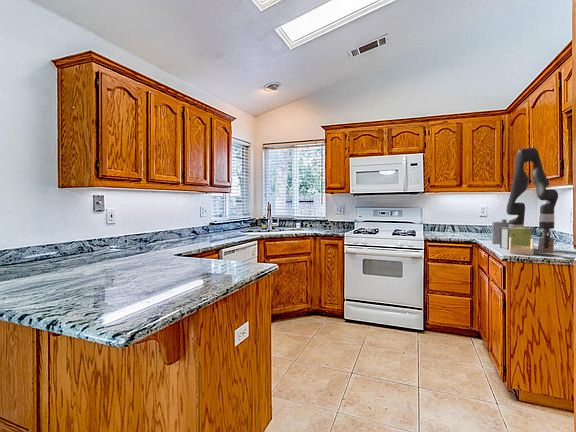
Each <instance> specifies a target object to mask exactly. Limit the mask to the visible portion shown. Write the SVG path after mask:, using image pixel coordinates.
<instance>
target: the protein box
mask: <svg viewBox="0 0 576 432" xmlns="http://www.w3.org/2000/svg"><path fill="white" fill-rule="evenodd" d="M509 237H510V238H511V245H514V246H530V243H531V238H532V228H529V227H527V228H526V227H524V228H500V244H499V248H500V249H503V250H506V251H507V250H508V251H509Z"/></svg>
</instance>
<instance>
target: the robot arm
mask: <svg viewBox="0 0 576 432" xmlns="http://www.w3.org/2000/svg"><path fill="white" fill-rule="evenodd" d="M525 163H532V164H533V169H532V173H531V174H532V175H531V178H532V179H531V180H532V181H533V184H534V185H535V191H536V192H535V193H536V197H537V198H538V199H539V200H540V201H545V203H544V204H541V205H540V207H539V220H538V222H539V223H538V228H539V229H542V231H541V235H542V236H541V238H544V248H546V249H548V248H549V242H550V238H551V234H552V233H551V231H550V230H554V229H555V207H556V204H557V202H558V198H559V193H558V191H557V190H556V189H550V188H547V187H549V185H550V181H549V180H548V177H547V176H546V173H545V172H544V168H543V165H542V160H541V157H540V153H539V151H538V149H537V148H536V147H528V148H526V147H525V148H521V149H518V150H517V153H516V155H515V163H514V164H515V165H514V171H513V172H514V173H513V174H514V175H513V178H512V181H511V188H510V192H509V193H510V195H509V198H508V202H507V205H506V213H507V215H509V216H516V217H515V218H513V219H509V220H508V223H509V228H525V214H526V205H525V203H524V202H516V201H517V199H518V198H519V197H520V196H521V195H522V194H523V193H524V192H526V191H527V189H528V186H529V181H530V179H529V176H528V174H527V173H526V171H525V167H524V166H525ZM546 239H548V240H546Z"/></svg>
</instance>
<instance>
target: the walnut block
mask: <svg viewBox="0 0 576 432" xmlns="http://www.w3.org/2000/svg"><path fill="white" fill-rule="evenodd" d="M546 240H548V239H546ZM554 242H555V240H554V238H553V237H550V242H549V248H548V249H546V248H544V238H542V237H538V252H537V253H544V254H554V246H555V243H554Z"/></svg>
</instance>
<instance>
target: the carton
mask: <svg viewBox="0 0 576 432" xmlns="http://www.w3.org/2000/svg"><path fill="white" fill-rule="evenodd" d="M508 252H509V253H508V254H510V255H523V256H524V255H525V256H534V239H533V238H532V237H531V243H530V246H514V245H511V238H510V237H509V250H508Z"/></svg>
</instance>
